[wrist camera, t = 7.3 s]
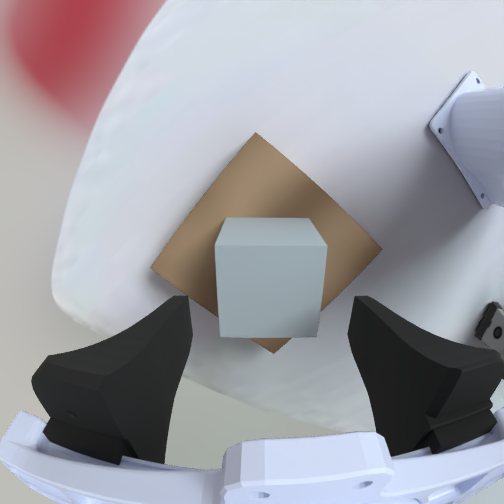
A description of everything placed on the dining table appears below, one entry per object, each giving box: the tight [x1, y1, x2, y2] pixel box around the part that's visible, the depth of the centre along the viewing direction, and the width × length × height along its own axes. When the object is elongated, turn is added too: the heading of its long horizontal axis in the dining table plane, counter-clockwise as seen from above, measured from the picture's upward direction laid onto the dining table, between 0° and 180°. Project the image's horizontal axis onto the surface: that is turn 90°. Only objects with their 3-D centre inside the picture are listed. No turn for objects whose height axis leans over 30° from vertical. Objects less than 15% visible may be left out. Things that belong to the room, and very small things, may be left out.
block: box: [215, 218, 328, 338], centre depth 16 cm, size 5×5×5 cm
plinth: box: [150, 132, 382, 354], centre depth 20 cm, size 11×11×2 cm
